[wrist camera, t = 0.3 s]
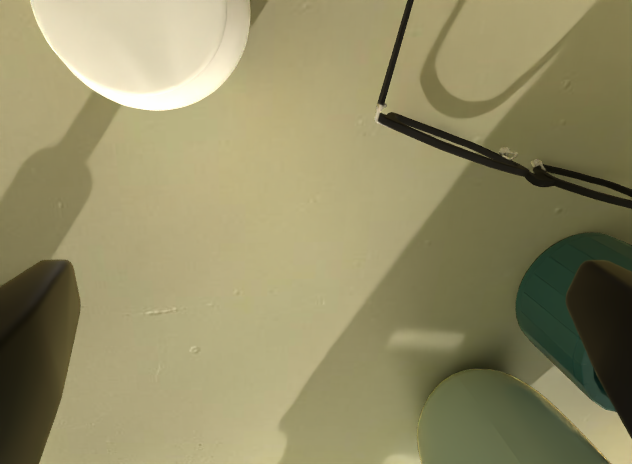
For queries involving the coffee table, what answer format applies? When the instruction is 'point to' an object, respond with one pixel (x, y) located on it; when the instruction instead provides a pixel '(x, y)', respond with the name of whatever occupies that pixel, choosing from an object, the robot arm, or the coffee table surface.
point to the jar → (550, 305)
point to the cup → (497, 424)
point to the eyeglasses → (496, 161)
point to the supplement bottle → (147, 46)
